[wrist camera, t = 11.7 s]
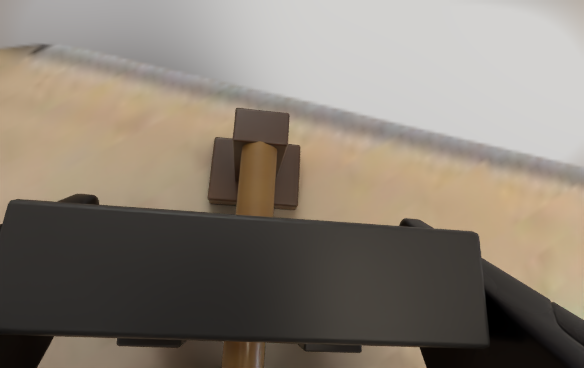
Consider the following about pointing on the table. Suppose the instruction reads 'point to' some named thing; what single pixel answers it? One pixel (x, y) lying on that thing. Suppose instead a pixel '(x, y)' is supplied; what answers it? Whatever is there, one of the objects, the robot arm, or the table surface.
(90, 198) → the robot arm
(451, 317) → the arch frame with shelf
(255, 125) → the wooden parallette bar
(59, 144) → the table surface
